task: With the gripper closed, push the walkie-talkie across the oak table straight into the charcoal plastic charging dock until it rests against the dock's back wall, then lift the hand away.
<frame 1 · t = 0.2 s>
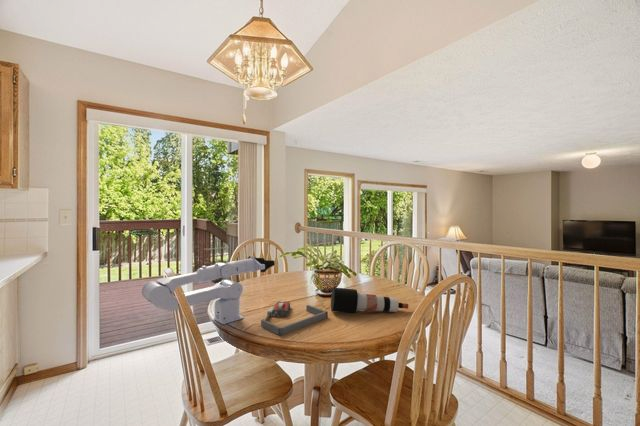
hand: (269, 261, 136), 21 cm above the table, tool horizontal, fingers open, 7 cm apart
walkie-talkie: (278, 315, 128), on the table
striped bottle: (369, 312, 131), on the table
charging dock: (294, 321, 120), on the table
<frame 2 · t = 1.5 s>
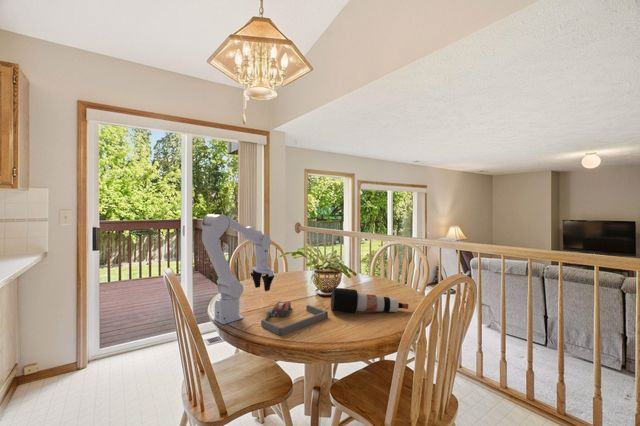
hand: (262, 289, 136), 9 cm above the table, tool pointing down, fingers open, 7 cm apart
nothing on the table moved.
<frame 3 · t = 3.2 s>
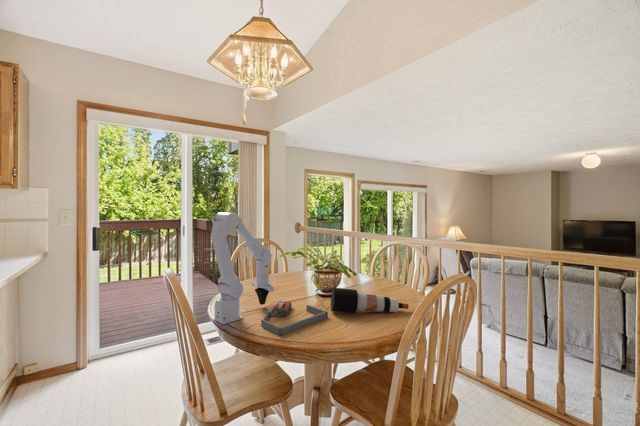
hand: (262, 304, 136), 2 cm above the table, tool pointing down, fingers closed
nothing on the table moved.
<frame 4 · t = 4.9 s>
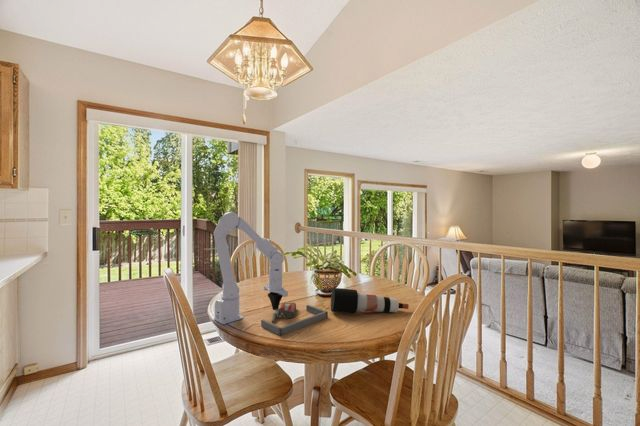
hand: (275, 309, 129), 2 cm above the table, tool pointing down, fingers closed
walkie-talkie: (284, 316, 126), on the table, touching gripper
everything else where it was.
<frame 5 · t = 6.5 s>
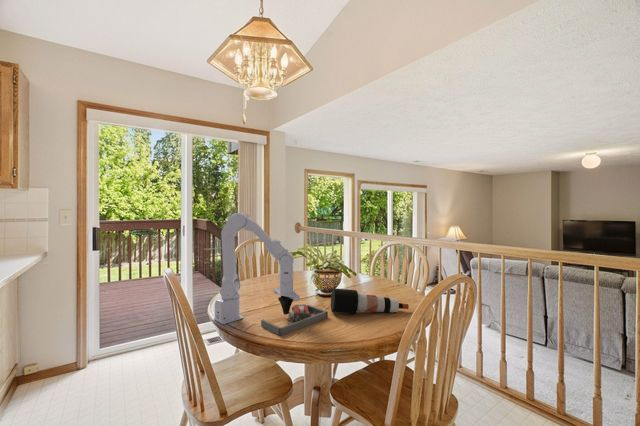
hand: (286, 313, 124), 2 cm above the table, tool pointing down, fingers closed
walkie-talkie: (299, 319, 123), on the table, touching charging dock, gripper
everything else where it was.
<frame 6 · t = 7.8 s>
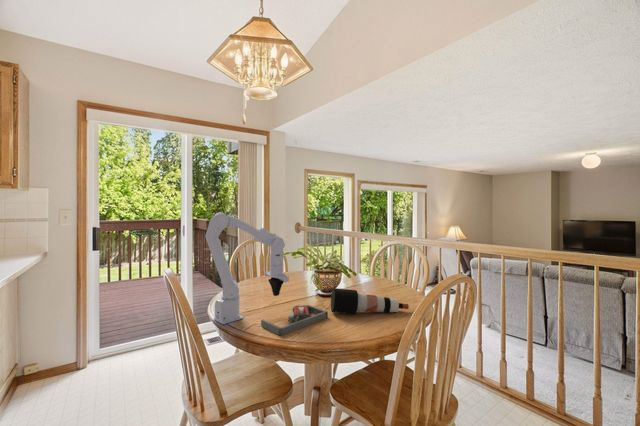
hand: (276, 295, 128), 8 cm above the table, tool pointing down, fingers closed
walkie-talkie: (298, 320, 123), on the table
everything else where it was.
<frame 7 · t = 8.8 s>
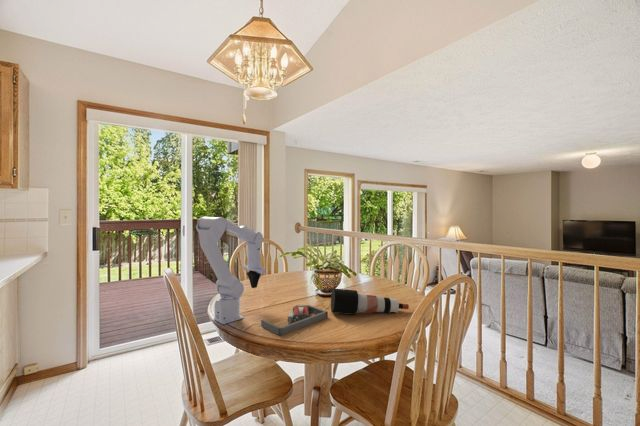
hand: (254, 287, 135), 9 cm above the table, tool pointing down, fingers closed
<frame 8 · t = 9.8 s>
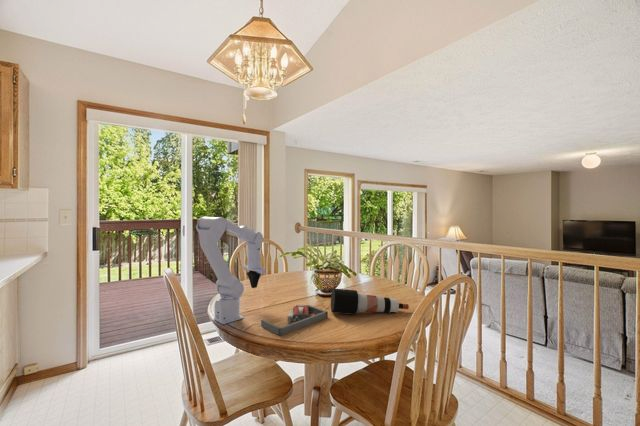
hand: (254, 287, 135), 9 cm above the table, tool pointing down, fingers closed
at the end: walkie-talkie 3.0 cm from the target spot, on the table; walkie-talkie tilted 2°; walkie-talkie moved 10.4 cm from its start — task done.
